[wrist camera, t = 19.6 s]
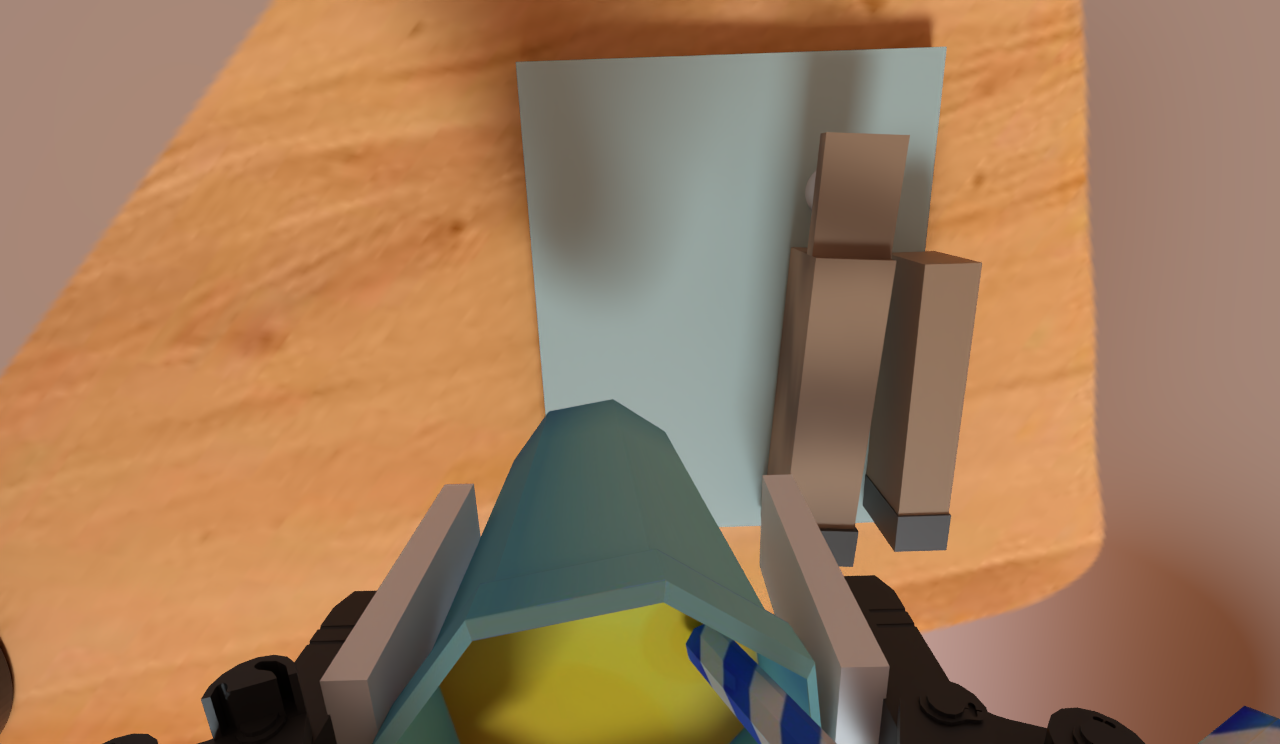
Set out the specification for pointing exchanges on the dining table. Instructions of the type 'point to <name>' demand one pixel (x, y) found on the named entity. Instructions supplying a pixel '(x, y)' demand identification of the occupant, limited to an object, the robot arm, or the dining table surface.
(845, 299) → the leg
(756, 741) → the cup
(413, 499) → the dining table surface
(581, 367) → the stool seat
